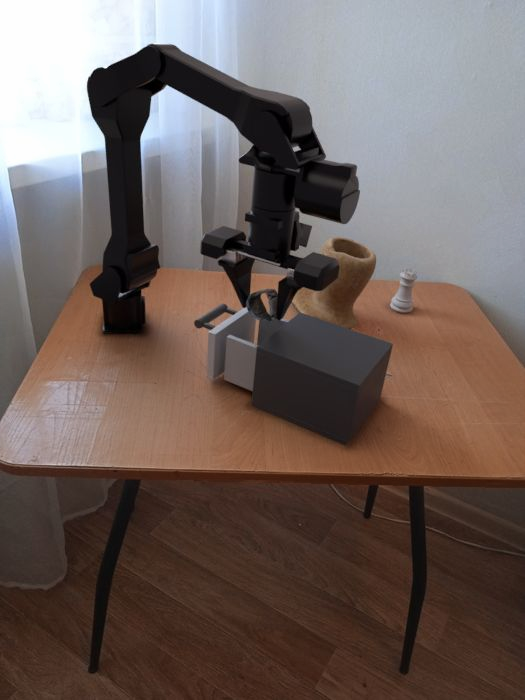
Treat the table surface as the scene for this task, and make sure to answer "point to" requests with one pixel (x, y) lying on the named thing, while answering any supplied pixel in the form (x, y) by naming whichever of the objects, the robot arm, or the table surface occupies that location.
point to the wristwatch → (258, 308)
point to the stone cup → (339, 283)
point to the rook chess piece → (404, 292)
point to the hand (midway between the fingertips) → (262, 312)
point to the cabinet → (320, 376)
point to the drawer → (234, 344)
